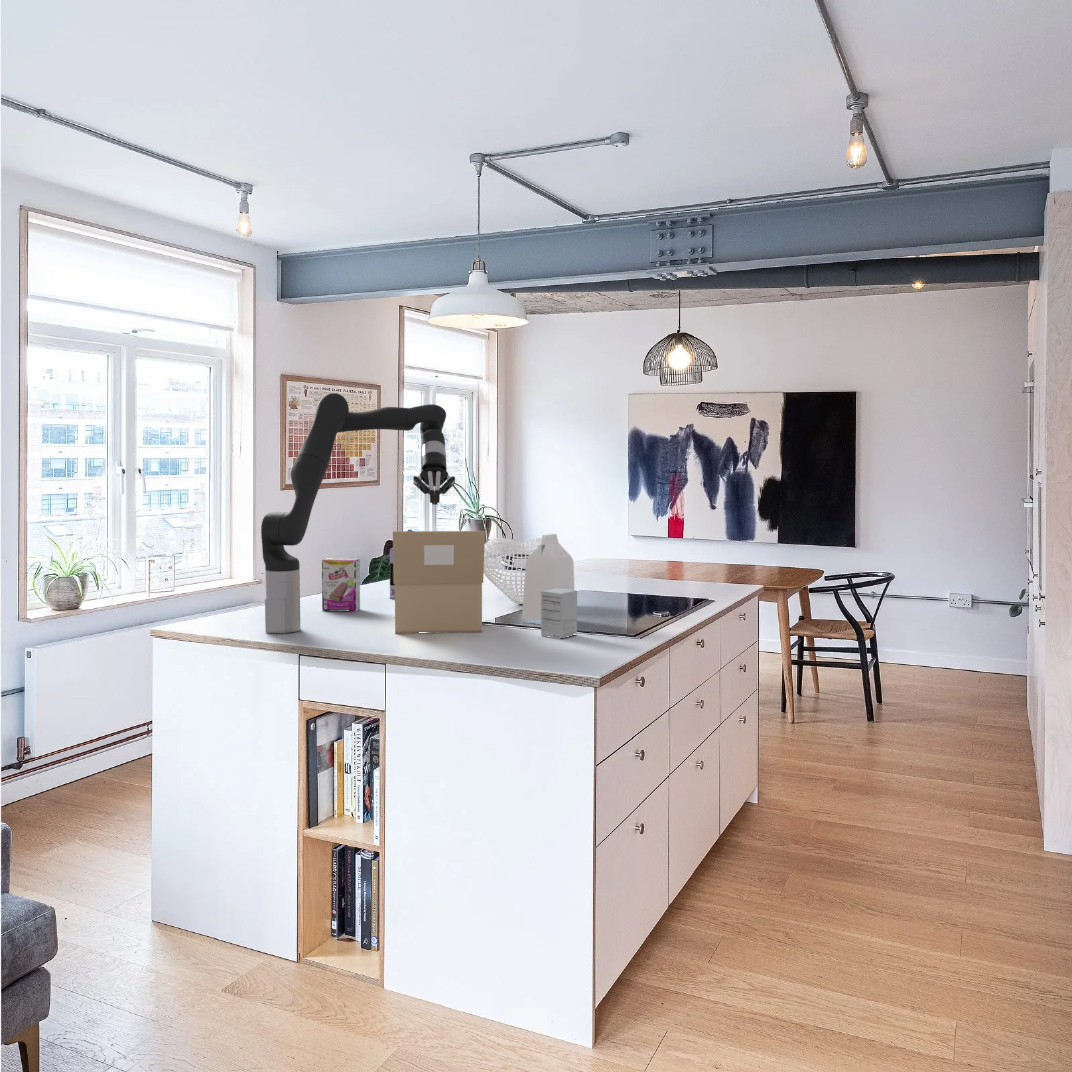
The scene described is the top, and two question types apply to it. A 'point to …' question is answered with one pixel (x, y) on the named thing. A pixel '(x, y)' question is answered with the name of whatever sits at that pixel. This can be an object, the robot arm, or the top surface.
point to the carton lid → (438, 557)
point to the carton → (438, 607)
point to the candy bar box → (340, 584)
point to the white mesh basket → (502, 540)
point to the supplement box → (558, 612)
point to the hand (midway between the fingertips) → (434, 502)
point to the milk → (546, 574)
